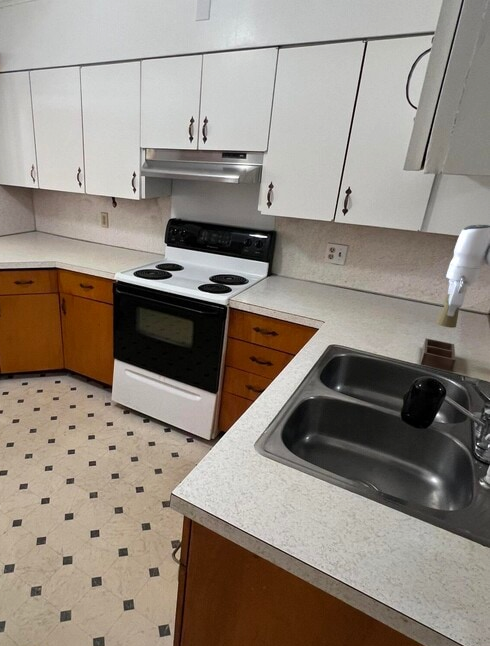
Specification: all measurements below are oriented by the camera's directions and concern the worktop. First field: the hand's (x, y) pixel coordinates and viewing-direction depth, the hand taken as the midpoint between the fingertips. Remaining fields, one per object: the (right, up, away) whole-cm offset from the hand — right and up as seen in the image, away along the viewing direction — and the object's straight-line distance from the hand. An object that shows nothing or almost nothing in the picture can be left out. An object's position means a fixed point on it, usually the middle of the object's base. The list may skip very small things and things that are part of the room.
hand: (449, 313), depth 147 cm
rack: (-3, -16, +3) cm, 17 cm away
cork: (0, -4, +2) cm, 4 cm away
